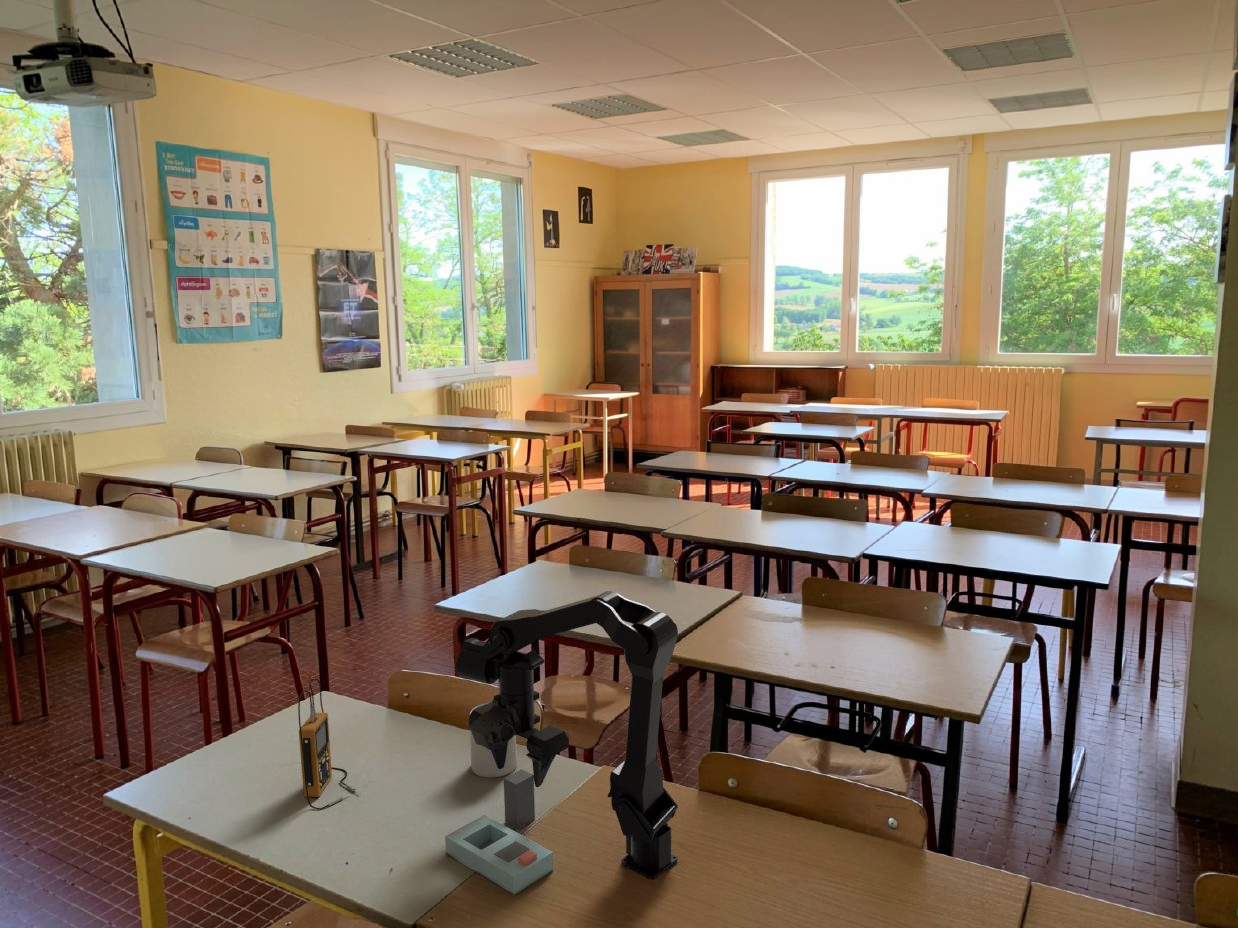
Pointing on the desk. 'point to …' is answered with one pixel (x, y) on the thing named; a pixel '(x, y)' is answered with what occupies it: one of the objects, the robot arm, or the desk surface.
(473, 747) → the mug
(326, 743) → the multimeter
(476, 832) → the power strip
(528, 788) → the plug
